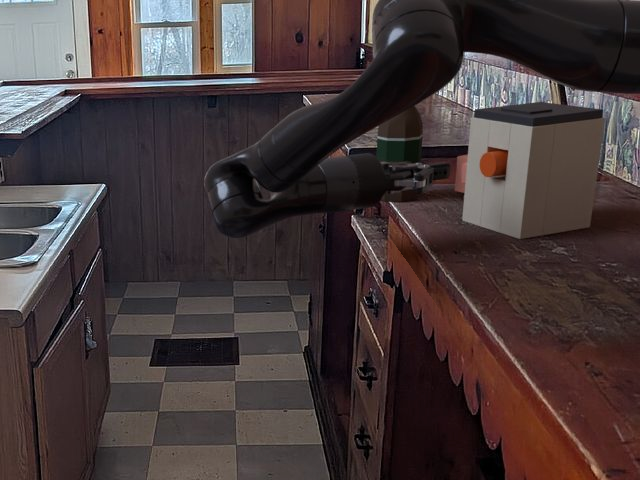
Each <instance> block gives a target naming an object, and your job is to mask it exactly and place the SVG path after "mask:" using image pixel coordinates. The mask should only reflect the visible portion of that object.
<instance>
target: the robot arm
mask: <svg viewBox="0 0 640 480" xmlns="http://www.w3.org/2000/svg"><path fill="white" fill-rule="evenodd" d="M371 36H372V37H371V38H372V41H371V42H372V60H371V61H370V63H369V64H368V66H367V67H366V69H364V70H363V71H362V73H361V74H359V76H358V77H357V78H356V79H355V81H353V83H351V84H350V85H349V86H348V87H347V88H346V89H344V90H343V91H342V92H340V93H339V94H338V95H335V96H333V97H331V98H328V99H326V100H322V101H319V102H315V103H312V104H307V105H305V106H303V107H300V108H297V109H296V110H294V111H292V112H291V113H290V114H288V115H287V116H286V117H284V118H283V119H282V120H280V122H278V123H277V124H276V125H275V126H274V127H273V128H272V129H270V130H269V131H268V132H267V133H266V134H265V135H264V136H262V138H260V139H259V140H258V141H257V142H255V143H254V144H252V145H250V146H248V147H247V148H245V149H242V150H240V151H238V152H236V153H234V154H232V155H229V156H227V157H224V158H222V159H219V160H218V161H216V162H215V163H213V164H212V165H211V166H210V167H209V169H207V171H206V173H205V175H204V178H203V190H204V193H205V196H206V198H207V202H208V205H209V208H210V212H211V215H212V217H213V220H214V223H215V226H216V229H217V231H219V232H220V234H221V235H223V236H225V237H228V238H231V239H243V238H246V237H249V236H251V235H253V234H257V232H259V231H261V230H264V229H265V228H268V227H270V226H272V225H275V224H277V223H280V222H282V221H284V220H285V221H286V220H288V219H290V218H293V217H294V218H295V217H300V216H301V217H302V216H308V215H314V214H334V213H340V212H341V213H342V212H348V211H353V210H354V211H355V210H361V209H368V208H369V209H370V208H373V207H375V206H377V205H378V204H380V202H381V201H382V200H381V199H382V197H383V195H384V194H385V193H386V192H387V194H397V193H400V192H401V191H405V190H411V189H413V191H414V193H416V194H418V195H419V194H423V193H424V192H426V191H428V189H430V188H432V187H433V183H434V181H440V180H446V179H449V178H450V175H451V163H448V162H445V161H437V162H431V163H430V162H429V163H422V162H421V163H414V164H411V162H409V161H405V162H404V161H401V162H386V161H385V162H380V161H379V159H378V158H377V157H376V154H375V155H374V154H373V153H371V152H367V153H366V152H365V153H356V154H349V155H340V156H333V157H330V156H332V155H333V154H335V152H337V151H338V150H340V149H342V148H344V146H346V145H348V144H350V143H351V142H353V141H354V140H356V139H358V138H360V137H362V136H363V135H365V134H368V132H370V131H372V130H374V129H376V128H378V126H379V125H381V124H383V123H385V122H386V121H388V120H390V119H391V118H393V117H395V116H397V115H398V114H400V113H402V112H404V111H406V110H408V109H409V108H411V107H413V106H415V107H416V106H417V105H418V104H420V103H423V102H424V101H425V100H427V99H429V98H431V97H432V96H434V95H435V94H437V93H439V92H440V91H441V90H443V89H444V88H445V87H446V86H447V85H449V84H450V83H451V82H452V81H453V80H454V79H455V78H456V77H457V75H458V73H459V72H460V71H461V68H462V66H463V63H464V57H465V53H470V54H471V53H472V54H473V53H474V54H482V55H490V56H494V57H498V58H501V59H504V60H508V61H511V62H513V63H515V64H518V65H519V66H521V67H523V68H525V69H527V70H529V71H531V72H533V73H535V74H537V75H539V76H541V77H543V78H546V79H548V80H550V81H552V82H554V83H556V84H559V85H561V86H564V87H567V88H569V89H572V90H577V91H583V92H590V93H607V94H621V95H640V0H378V1H377V3H376V4H375V7H374V9H373V12H372V20H371ZM260 187H262V188H263V189H264V190H266V191H267V192H268V199H264V197H263V193H262V191H261V188H260Z"/></svg>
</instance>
